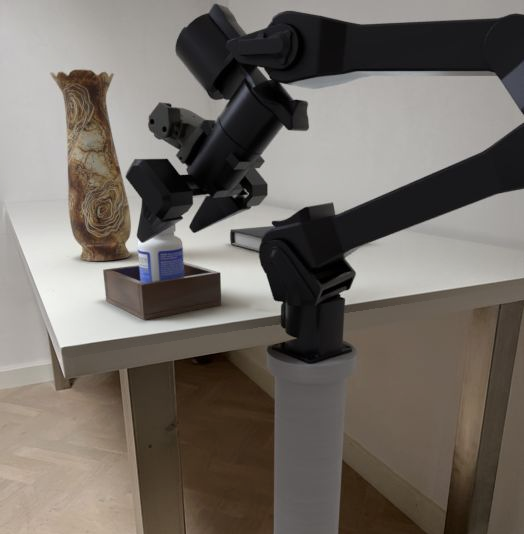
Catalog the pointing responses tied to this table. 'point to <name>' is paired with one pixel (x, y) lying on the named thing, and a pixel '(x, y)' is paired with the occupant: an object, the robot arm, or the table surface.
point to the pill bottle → (161, 257)
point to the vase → (93, 168)
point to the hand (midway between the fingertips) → (167, 234)
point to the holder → (162, 291)
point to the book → (248, 237)
